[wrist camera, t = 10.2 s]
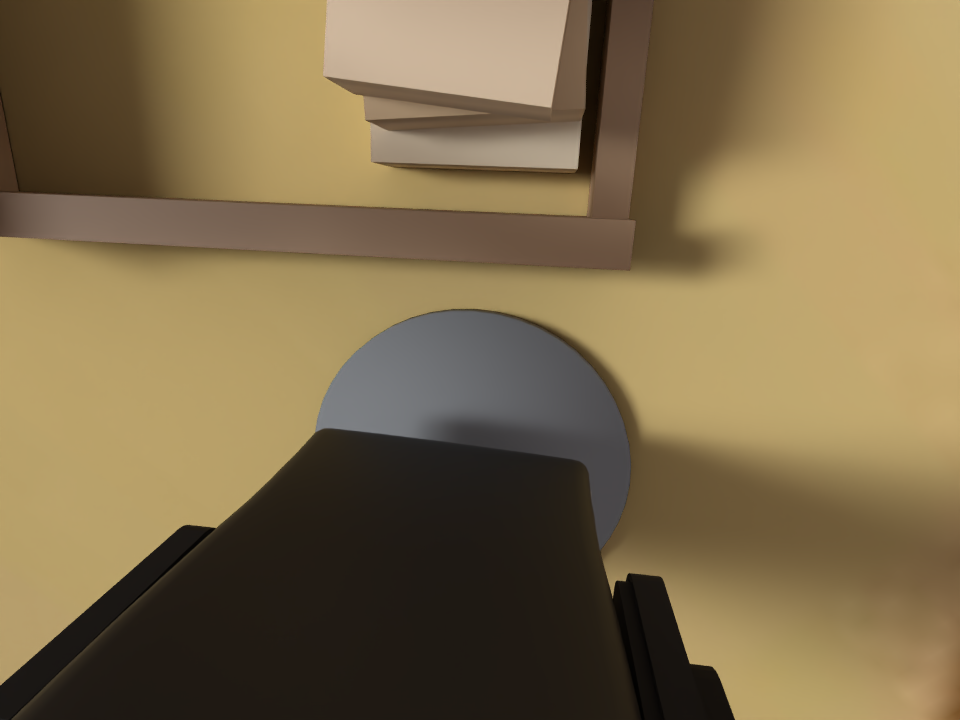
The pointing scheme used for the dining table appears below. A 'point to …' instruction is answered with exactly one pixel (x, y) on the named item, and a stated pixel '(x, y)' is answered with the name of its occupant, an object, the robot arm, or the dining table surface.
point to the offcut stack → (465, 79)
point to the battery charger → (374, 599)
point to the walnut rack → (382, 229)
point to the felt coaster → (487, 396)
